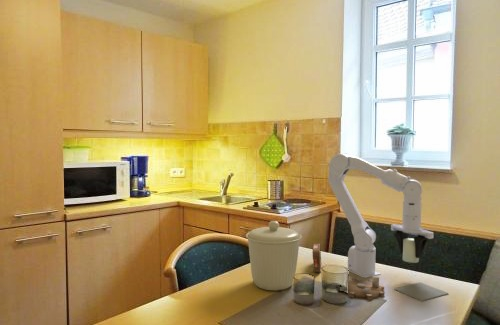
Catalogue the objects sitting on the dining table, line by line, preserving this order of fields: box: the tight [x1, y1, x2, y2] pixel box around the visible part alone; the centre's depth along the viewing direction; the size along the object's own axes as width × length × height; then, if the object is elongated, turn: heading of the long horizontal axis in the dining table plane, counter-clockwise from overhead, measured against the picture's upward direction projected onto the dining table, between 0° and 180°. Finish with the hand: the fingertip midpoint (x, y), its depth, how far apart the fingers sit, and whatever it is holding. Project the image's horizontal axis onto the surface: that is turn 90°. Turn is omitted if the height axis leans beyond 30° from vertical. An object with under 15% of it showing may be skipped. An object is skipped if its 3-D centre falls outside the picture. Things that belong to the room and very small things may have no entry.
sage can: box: [402, 237, 420, 264], centre depth 126 cm, size 5×5×7 cm
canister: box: [245, 220, 303, 291], centre depth 121 cm, size 18×18×21 cm
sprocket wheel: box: [347, 275, 385, 301], centre depth 116 cm, size 14×14×4 cm
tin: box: [312, 243, 322, 273], centre depth 138 cm, size 15×3×8 cm, turn 168°
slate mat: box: [394, 282, 449, 302], centre depth 116 cm, size 10×12×1 cm
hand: (410, 255), depth 126 cm, fingers closed on sage can, 5 cm apart
